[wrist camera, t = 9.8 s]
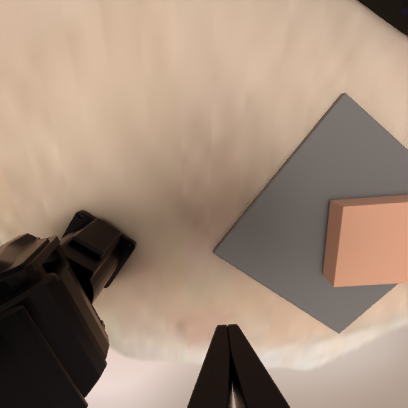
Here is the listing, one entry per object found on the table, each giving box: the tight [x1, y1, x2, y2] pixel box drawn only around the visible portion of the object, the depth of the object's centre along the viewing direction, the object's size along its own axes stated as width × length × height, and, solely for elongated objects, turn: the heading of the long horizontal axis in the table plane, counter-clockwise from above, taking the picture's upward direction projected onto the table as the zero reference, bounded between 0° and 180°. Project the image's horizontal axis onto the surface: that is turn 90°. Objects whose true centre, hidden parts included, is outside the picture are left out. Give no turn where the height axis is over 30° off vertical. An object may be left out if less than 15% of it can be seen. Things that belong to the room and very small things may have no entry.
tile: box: [323, 194, 408, 287], centre depth 20 cm, size 2×8×9 cm
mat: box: [213, 93, 408, 333], centre depth 21 cm, size 18×18×1 cm
